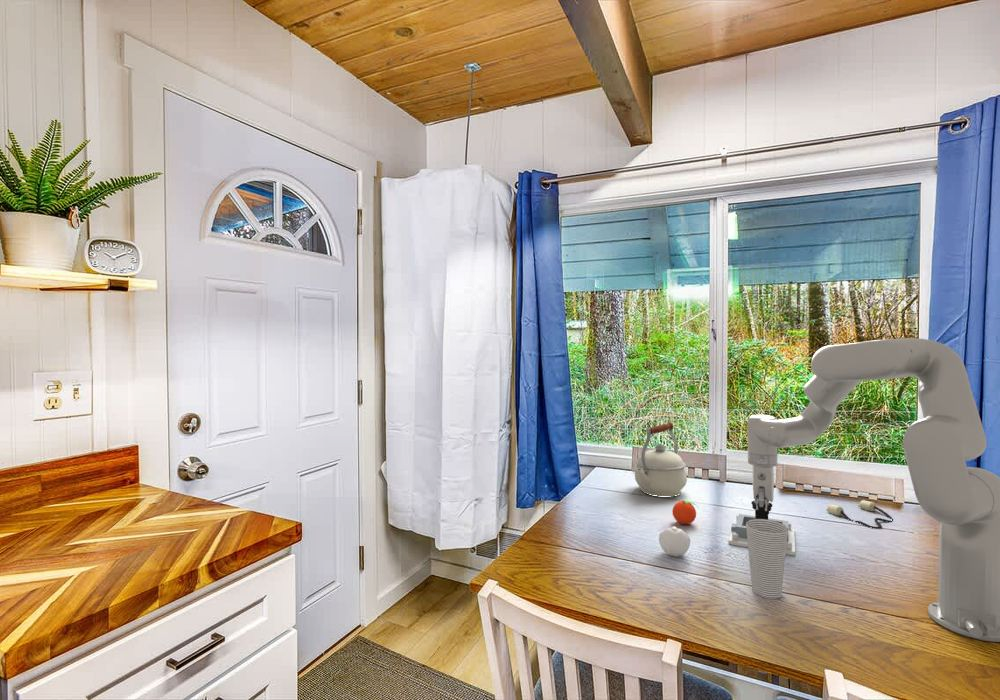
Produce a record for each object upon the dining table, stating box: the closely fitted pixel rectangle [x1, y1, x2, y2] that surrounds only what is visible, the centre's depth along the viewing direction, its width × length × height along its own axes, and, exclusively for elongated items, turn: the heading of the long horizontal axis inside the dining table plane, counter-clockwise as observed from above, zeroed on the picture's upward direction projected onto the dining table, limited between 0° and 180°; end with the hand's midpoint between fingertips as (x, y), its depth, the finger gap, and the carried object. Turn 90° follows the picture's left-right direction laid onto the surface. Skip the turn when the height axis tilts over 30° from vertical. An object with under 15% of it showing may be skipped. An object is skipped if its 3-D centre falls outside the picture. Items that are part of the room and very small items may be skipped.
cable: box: [825, 499, 894, 529], centre depth 158 cm, size 16×16×4 cm
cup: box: [746, 519, 788, 600], centre depth 115 cm, size 8×8×16 cm
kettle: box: [634, 422, 688, 496], centre depth 185 cm, size 25×18×25 cm
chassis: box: [728, 513, 796, 556], centre depth 144 cm, size 18×16×4 cm
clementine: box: [672, 500, 699, 525], centre depth 156 cm, size 8×7×7 cm
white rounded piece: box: [658, 525, 691, 558], centre depth 134 cm, size 8×8×8 cm
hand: (762, 518), depth 144 cm, fingers open, 8 cm apart
